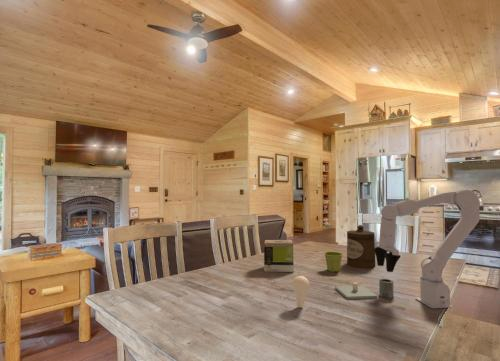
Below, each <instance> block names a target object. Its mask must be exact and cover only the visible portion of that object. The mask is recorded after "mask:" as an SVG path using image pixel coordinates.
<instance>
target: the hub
mask: <svg viewBox="0 0 500 361" xmlns="http://www.w3.org/2000/svg"><path fill="white" fill-rule="evenodd" d="M378 283H379V284H378V285H379V293H378V294H379V297H382V298H384V299H393V298H394V293H395V292H394V280H392V279H388V278H379V282H378Z"/></svg>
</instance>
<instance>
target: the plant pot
mask: <svg viewBox="0 0 500 361" xmlns="http://www.w3.org/2000/svg"><path fill="white" fill-rule="evenodd" d="M323 255H324V258H325V262H326V268H327V269H326V270H328V272H332V273H335V272H340V271H341V270H340V269H341V264H342V263H341V262H342V257H343V255H344V254H343V253H342V252H338V251H326V252H324V253H323Z"/></svg>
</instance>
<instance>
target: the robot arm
mask: <svg viewBox="0 0 500 361" xmlns="http://www.w3.org/2000/svg"><path fill="white" fill-rule="evenodd" d="M440 204H449V205H455V206H456V207H457V208H458V212H459V215H460V219H459V220H458V221H457V223H456V224H455V225H454V226H453V228H452V229H451V230H450V231H449V232H448V234H447V235H446V237H445V238H444V239H443V240H442V241H441V243H440V244H439V245H438V247H437V248H436V249H435V251H434V252H432V253H431V254H430V255H429V257H426V258H425V259H423V260H422V261H421V263H420V268H421V273H422V274H420V275H419V276H420V277H419V280H420V281H419V292H420V293H419V294H420V296H419V297H418V296H417V297H414V299H415V300H416V301H418V302H420V303H421V304H424V305H425V306H427V307H429V308H431V309H450V308H453V305H451V293H450V292H451V290H450V288H449V285H447V284H446V283H445V282H444V279H443V278H444V277H442V275H443V271H444V269H445V268H446V265H447V263H448V260H450V258H451V257H452V256H453V255H454V253H455V252H456V251H457V250H458V248H459V247H460V246H461V245H462V243H464V241H465V240H466V238H467V237H468V236H469V235H470V234H471V232H472V231H473V230H474V229H475V228H476V226H477V225H478V223H479V221H480V217H481V216H480V205H481V201H480V200H479V197H478V195H477V194H476V193H475V191H472V190H470V189H459V190H452V191H446V192H441V193H438V194H433V195H431V196H428V197H424V198H420V199H418V200H417V199H414V198H413V197H412V198H411V197H410V198H409V197H405V198H404V200H401V201H397V202H395V201H392V202H391V204H385V205H384V206H382V208H381V210H380V215H381V218H380V228H379V239H378V240H379V241H375V248H373V249H374V252H375V260H376V264H377V266H379V267H384V266H385V262H386V268H385V270H386V272H387V273H393V272H394V270H395V267H396V265H397V263H398V261H399V260H400V258H401V255H400V254H399V253H400V251H399V249H397V247H396V237H397V236H396V235H397V217H400V218H401V217H405V216H410V215H413V214H417V213H418V212H419V210H420V209H421V208H426V207H431V206H436V205H440Z"/></svg>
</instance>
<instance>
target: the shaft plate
mask: <svg viewBox="0 0 500 361" xmlns="http://www.w3.org/2000/svg"><path fill="white" fill-rule="evenodd" d="M334 289H335V290H336V291H337V292H338V293H340V295H342V296H343V297H344V298H345V299H346V300H362V299H364V300H365V299H369V300H370V299H378V295H377V294H375V293H374V292H372V291H371V290H369V289H368V288H367V287H365V286H364V285H358V282H354V281H353V282H352V285H335V286H334Z"/></svg>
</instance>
